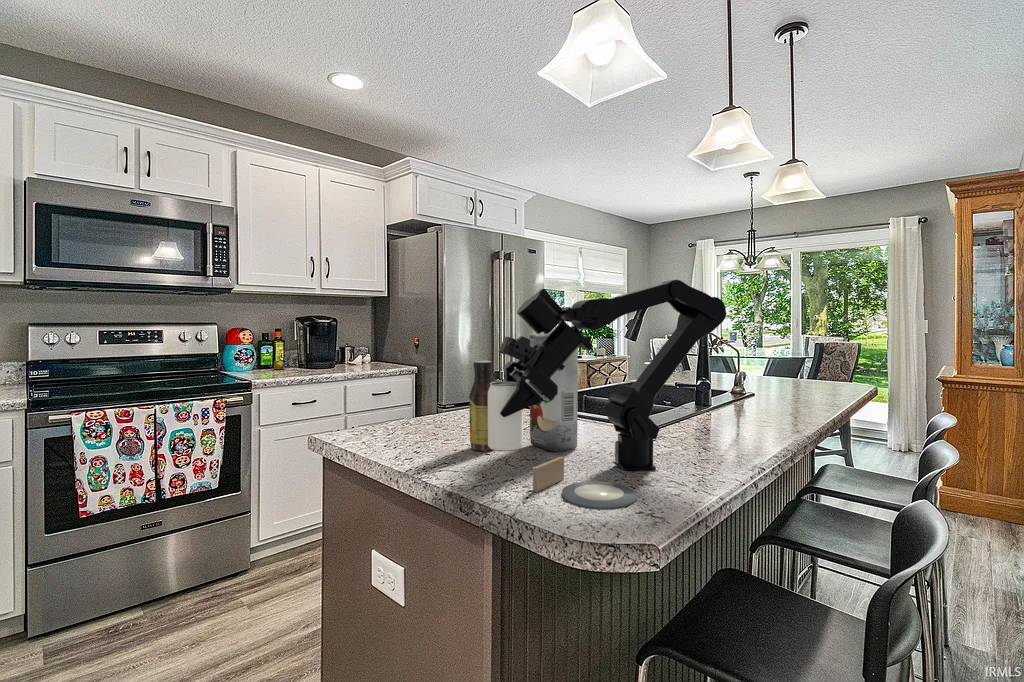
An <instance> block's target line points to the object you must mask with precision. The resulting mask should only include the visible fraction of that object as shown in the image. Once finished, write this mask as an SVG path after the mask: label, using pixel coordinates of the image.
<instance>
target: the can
mask: <svg viewBox="0 0 1024 682" xmlns="http://www.w3.org/2000/svg"><path fill="white" fill-rule="evenodd" d="M516 388H517V382H505V381H493V382H492V381H491V383H490V388H489V390H488V446H489V447H490V449H491V450H490V451H496V452H515V451H518V450H521V448H522V447H523V445H524V439H523V438H524V430H523V429H524V427H523V426H524V425H523V424H524V422H523V421H524V416H523V415H524V413H523V411H524V409H522V410H520V411H518V412H516V413H513V414H511V415H509V416H507V417H503V416H502V415H501V414H500V412H501V411H502V409H503V407H504V406H505V404H506V403H507V402H508V400H509V399H510V397H511V396H512V394H513V393H514V392H515V390H516Z"/></svg>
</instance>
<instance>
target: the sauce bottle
mask: <svg viewBox="0 0 1024 682" xmlns="http://www.w3.org/2000/svg"><path fill="white" fill-rule="evenodd" d="M473 371H474V372H473V373H474V378H473V380H474V381H473V384H472V386H471V390H470V393H469V395H468V396H469V397H468V400H469V401H468V402H469V403H468V404H469V405H468V406H469V407H468V408H469V409H468V411H469V442H470V448H471V449H472V450H475V451H481V452H490V451H492V450H491V449H490V447H489V446H488V390H489V388H490V383H492V361H491V360H475V361H473Z"/></svg>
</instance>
